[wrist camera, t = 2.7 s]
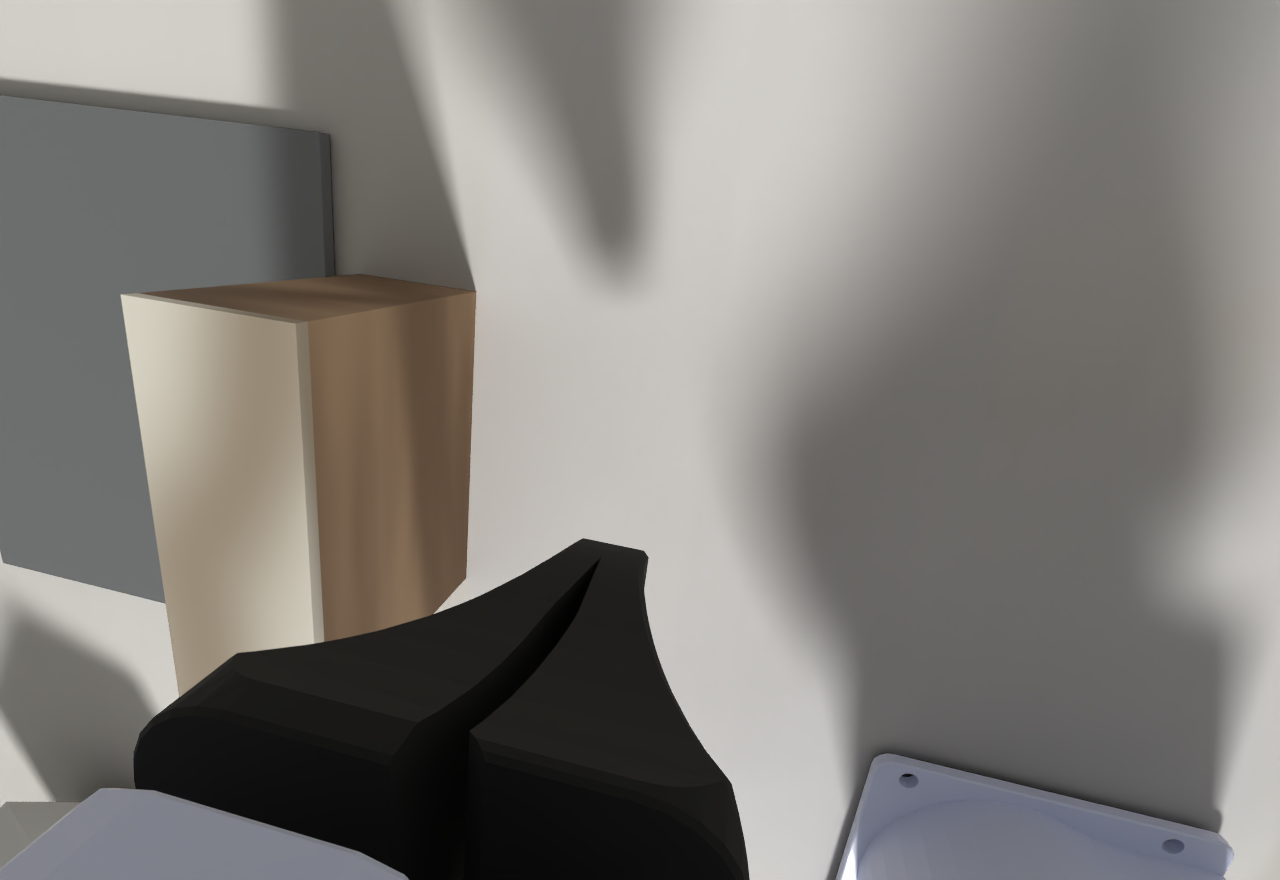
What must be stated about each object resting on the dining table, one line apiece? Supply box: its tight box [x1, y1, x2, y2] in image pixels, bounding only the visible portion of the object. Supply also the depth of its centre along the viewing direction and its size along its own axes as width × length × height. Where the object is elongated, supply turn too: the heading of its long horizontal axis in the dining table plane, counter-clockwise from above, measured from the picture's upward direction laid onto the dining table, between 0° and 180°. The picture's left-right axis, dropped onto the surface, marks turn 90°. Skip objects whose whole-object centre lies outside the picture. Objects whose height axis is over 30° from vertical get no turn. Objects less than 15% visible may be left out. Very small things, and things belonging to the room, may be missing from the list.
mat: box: [0, 95, 335, 603], centre depth 20 cm, size 14×16×1 cm
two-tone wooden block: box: [121, 274, 476, 697], centre depth 16 cm, size 4×9×7 cm, turn 173°
